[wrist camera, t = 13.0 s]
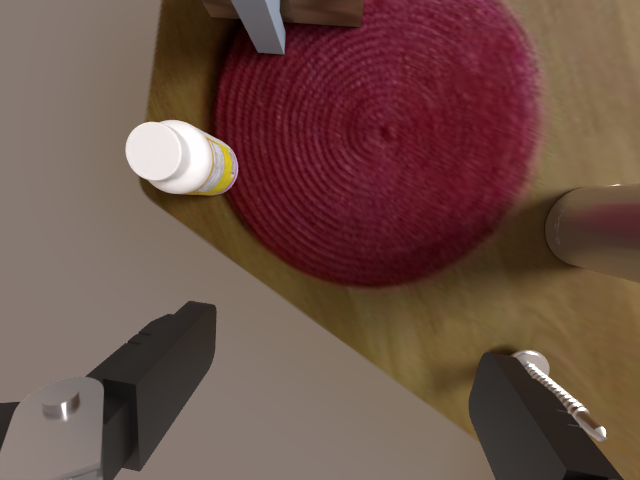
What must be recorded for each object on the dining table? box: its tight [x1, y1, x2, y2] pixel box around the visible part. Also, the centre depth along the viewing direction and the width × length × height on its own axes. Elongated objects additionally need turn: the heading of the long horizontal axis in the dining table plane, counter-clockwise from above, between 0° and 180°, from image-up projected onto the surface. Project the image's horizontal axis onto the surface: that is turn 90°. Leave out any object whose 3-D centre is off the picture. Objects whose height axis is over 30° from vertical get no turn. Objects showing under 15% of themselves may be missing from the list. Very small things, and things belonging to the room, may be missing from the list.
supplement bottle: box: [126, 120, 238, 195], centre depth 32 cm, size 7×7×13 cm
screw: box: [509, 349, 607, 441], centre depth 33 cm, size 13×5×5 cm
